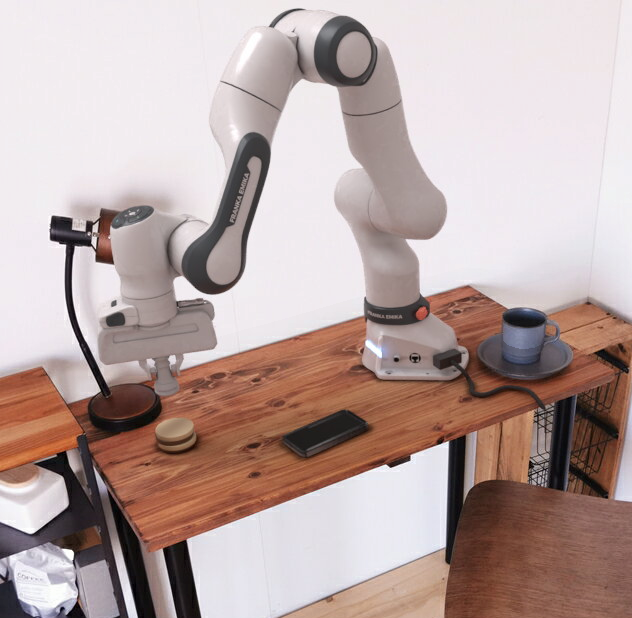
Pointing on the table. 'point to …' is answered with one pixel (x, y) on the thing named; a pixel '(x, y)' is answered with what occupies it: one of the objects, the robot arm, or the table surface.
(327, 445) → the phone
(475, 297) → the table surface
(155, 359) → the rook chess piece
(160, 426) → the chip pile
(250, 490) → the table surface
